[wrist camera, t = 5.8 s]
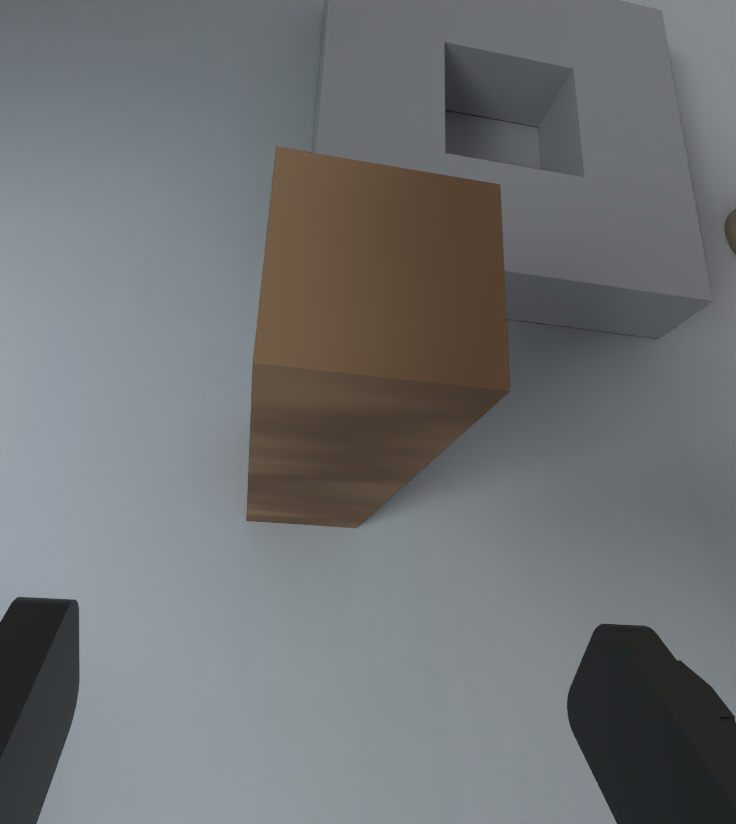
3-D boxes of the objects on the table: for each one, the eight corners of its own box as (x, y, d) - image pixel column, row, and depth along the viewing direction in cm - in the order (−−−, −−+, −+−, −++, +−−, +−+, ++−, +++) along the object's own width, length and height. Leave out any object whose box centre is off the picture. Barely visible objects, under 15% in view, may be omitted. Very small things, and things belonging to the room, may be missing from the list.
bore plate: (300, 292, 22) (309, 242, 19) (324, 8, 26) (334, -65, 24) (658, 338, 24) (712, 300, 21) (620, 70, 29) (661, 10, 26)
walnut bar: (246, 520, 19) (252, 363, 8) (257, 416, 20) (275, 147, 9) (355, 527, 19) (510, 391, 8) (360, 425, 20) (500, 184, 9)
